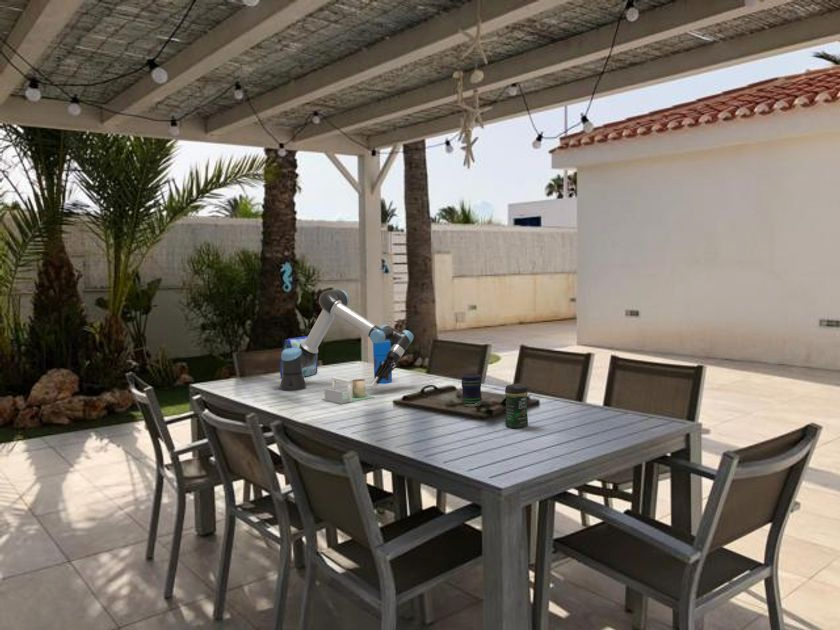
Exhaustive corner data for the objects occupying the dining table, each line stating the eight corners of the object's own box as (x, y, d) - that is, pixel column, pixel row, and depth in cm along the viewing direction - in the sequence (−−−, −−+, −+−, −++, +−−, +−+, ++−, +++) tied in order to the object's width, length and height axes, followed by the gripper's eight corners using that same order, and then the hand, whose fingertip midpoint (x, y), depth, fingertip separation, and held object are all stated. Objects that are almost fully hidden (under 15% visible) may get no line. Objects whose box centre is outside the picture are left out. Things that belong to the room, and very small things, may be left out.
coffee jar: (515, 429, 285) (514, 386, 283) (502, 426, 291) (501, 384, 290) (531, 426, 291) (530, 383, 289) (518, 423, 297) (517, 381, 295)
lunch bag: (298, 380, 427) (296, 339, 425) (278, 378, 435) (276, 338, 433) (320, 374, 446) (319, 335, 444) (301, 373, 454) (300, 334, 452)
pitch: (321, 399, 362) (321, 398, 362) (355, 393, 377) (355, 392, 376) (340, 404, 349) (340, 403, 349) (374, 397, 363) (374, 397, 363)
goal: (324, 399, 360) (324, 378, 359) (335, 397, 364) (334, 377, 363) (341, 403, 348) (340, 382, 347) (352, 401, 352) (351, 380, 352)
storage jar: (471, 408, 330) (470, 377, 329) (457, 405, 337) (457, 375, 336) (485, 405, 336) (485, 375, 335) (472, 402, 344) (471, 373, 343)
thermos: (393, 380, 416) (391, 340, 414) (390, 383, 405) (389, 342, 403) (375, 380, 417) (374, 340, 415) (372, 383, 406) (371, 342, 404)
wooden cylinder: (350, 396, 365) (349, 380, 365) (360, 394, 370) (360, 378, 369) (357, 398, 360) (357, 381, 359) (368, 396, 365) (367, 379, 364)
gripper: (406, 359, 377) (383, 393, 368) (391, 357, 387) (369, 390, 377) (398, 350, 373) (375, 384, 364) (384, 349, 383) (361, 382, 374)
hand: (372, 387), depth 371 cm, fingers closed
